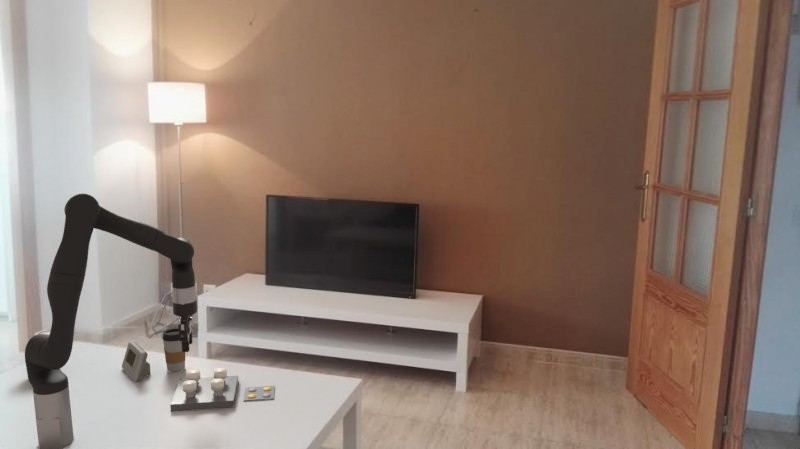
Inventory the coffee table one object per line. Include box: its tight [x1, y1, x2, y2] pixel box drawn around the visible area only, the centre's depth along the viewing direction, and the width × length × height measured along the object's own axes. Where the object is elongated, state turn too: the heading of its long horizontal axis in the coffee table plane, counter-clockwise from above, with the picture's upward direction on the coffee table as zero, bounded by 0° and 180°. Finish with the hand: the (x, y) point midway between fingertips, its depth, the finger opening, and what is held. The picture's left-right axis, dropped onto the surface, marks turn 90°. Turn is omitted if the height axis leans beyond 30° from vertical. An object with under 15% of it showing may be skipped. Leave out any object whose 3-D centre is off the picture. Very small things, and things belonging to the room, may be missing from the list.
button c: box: [186, 369, 201, 386], centre depth 227 cm, size 4×4×5 cm
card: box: [243, 385, 275, 402], centre depth 226 cm, size 10×10×1 cm
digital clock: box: [121, 340, 152, 382], centre depth 241 cm, size 16×9×11 cm, turn 27°
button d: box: [213, 367, 228, 384], centre depth 228 cm, size 4×4×5 cm
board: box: [169, 375, 239, 412], centre depth 224 cm, size 20×20×2 cm
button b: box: [211, 379, 224, 396], centre depth 220 cm, size 4×4×5 cm
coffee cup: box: [162, 327, 186, 374], centre depth 245 cm, size 8×8×15 cm
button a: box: [183, 380, 197, 398], centre depth 218 cm, size 4×4×5 cm
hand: (187, 347), depth 215 cm, fingers open, 6 cm apart
